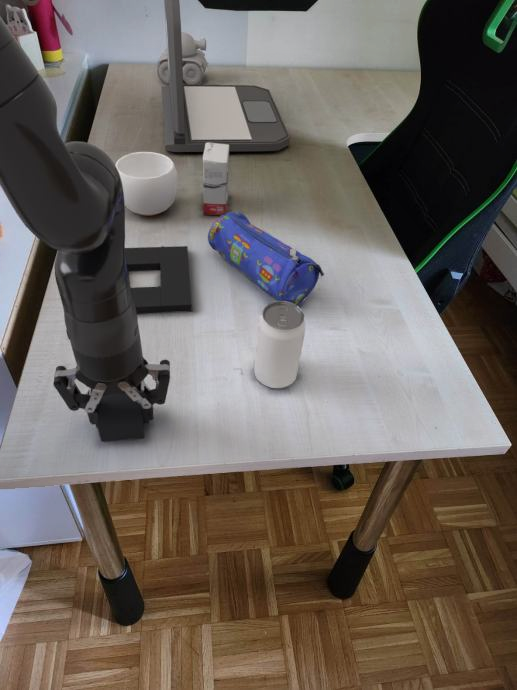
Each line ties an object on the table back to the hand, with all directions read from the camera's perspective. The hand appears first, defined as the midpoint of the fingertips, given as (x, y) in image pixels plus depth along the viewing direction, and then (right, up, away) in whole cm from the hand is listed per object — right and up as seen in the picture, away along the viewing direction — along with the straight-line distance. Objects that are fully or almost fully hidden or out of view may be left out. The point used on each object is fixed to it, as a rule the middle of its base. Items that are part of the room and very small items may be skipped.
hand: (123, 420), depth 69 cm
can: (+21, +6, +8) cm, 23 cm away
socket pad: (-2, +21, +21) cm, 30 cm away
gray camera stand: (+8, +70, +70) cm, 99 cm away
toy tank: (-5, +92, +90) cm, 129 cm away
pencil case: (+19, +22, +24) cm, 38 cm away
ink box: (+9, +40, +41) cm, 58 cm away
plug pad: (0, 0, 0) cm, 1 cm away
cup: (-5, +38, +38) cm, 54 cm away
